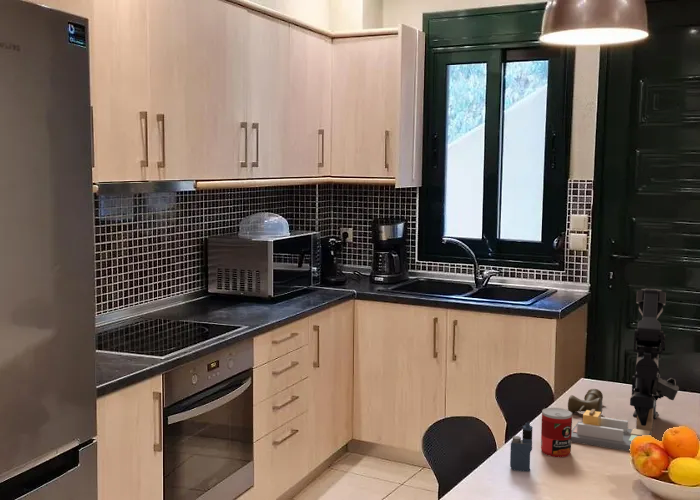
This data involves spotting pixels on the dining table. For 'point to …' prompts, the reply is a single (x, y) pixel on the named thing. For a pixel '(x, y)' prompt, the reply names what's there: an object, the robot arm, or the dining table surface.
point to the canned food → (556, 432)
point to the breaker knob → (592, 417)
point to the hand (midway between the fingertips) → (644, 423)
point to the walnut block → (649, 422)
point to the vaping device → (521, 450)
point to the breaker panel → (606, 434)
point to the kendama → (586, 402)
